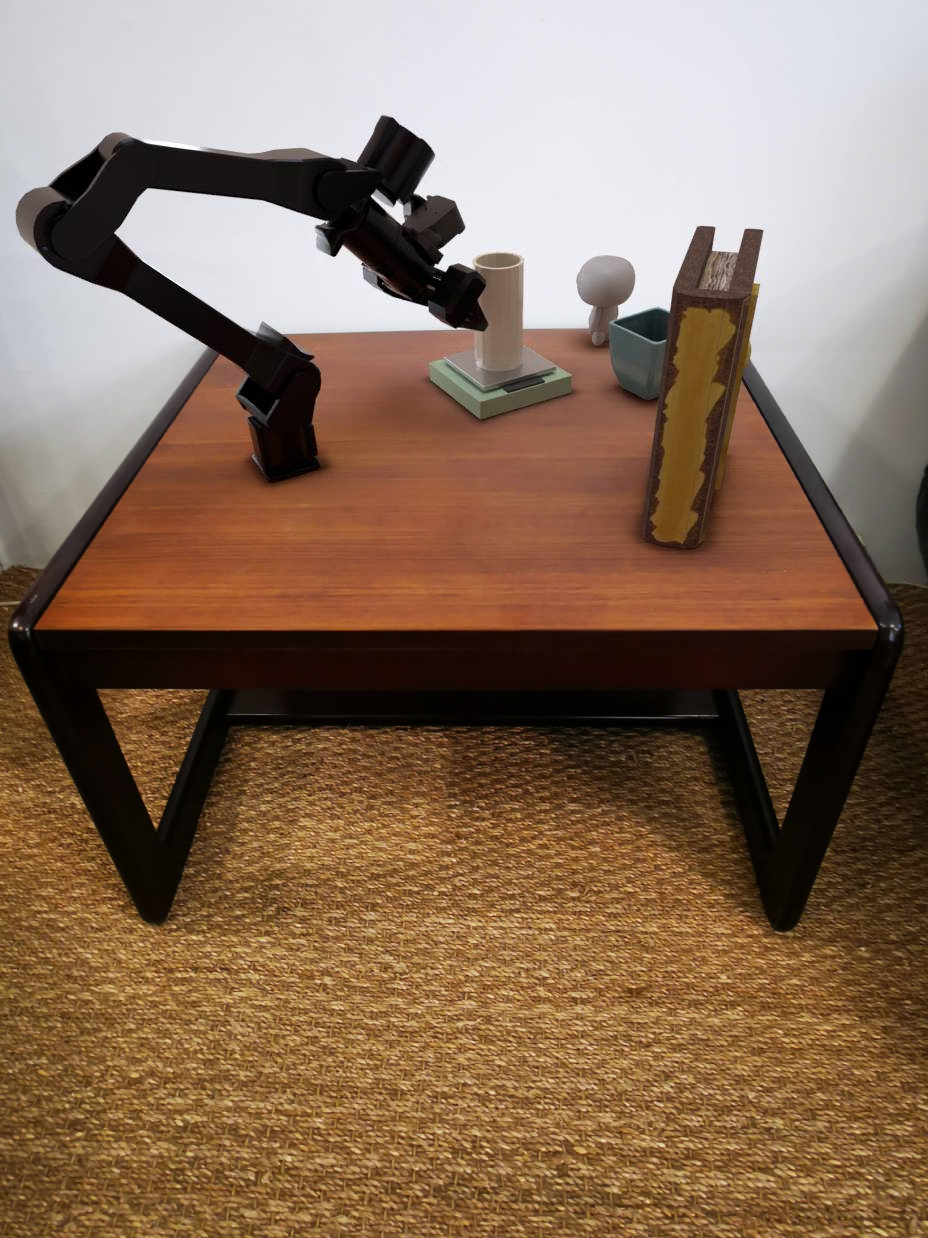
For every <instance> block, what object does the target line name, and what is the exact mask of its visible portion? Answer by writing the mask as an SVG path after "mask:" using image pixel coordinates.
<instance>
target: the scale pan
mask: <svg viewBox="0 0 928 1238" xmlns="http://www.w3.org/2000/svg"><path fill="white" fill-rule="evenodd" d="M525 346H526V345H525ZM525 346H523V362H522V364H521V365H520V366H519V367H517V368H515V369H512V370H508V371H488V370H484V369H481V368H480V367H478V366H477V365H476V363H475V348H471V349H467V350H463V351H460V352H455V353H452V354H447V355H445V356H443V359H444V361H445V362H446V363H447V364H449V365H450V366H451V367H453V368H454V369H455V370H457V371H458V372H459V373H461V374H462V375H463V376H465V377H466V378H467V379H469V380H470V381H471V382H473V383H474V384H475V385H477V386H478V387H479V388H481V389H482V390H483V391H487V390H490V389H494V388H497V387H501V386H504V385H508V384H511V383H515V382H518V381H522V380H525V379H529V378H532V377H536V376H539V375H543V374H546V373H550V372H553V371H556V366H557V365H556V364H555V365H556V366H555V365H553V364H554V363H553V362H552V363H553V364H552V363H550V362H551V361H550V360H549V361H550V362H549V361H547V360H548V359H547V360H545V359H546V358H545V357H544V358H545V359H544V358H542V357H543V356H542V355H541V356H542V357H541V356H539V355H540V354H539V353H537V352H536V353H537V354H536V353H534V352H535V351H534V350H533V351H534V352H533V351H531V350H532V349H531V348H530V349H531V350H530V349H528V348H529V347H528V346H526V347H525ZM527 347H528V348H527ZM538 354H539V355H538Z"/></svg>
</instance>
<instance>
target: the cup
mask: <svg viewBox="0 0 928 1238" xmlns="http://www.w3.org/2000/svg"><path fill="white" fill-rule="evenodd" d="M471 269H474V270H476V271H477V272H478V273H479V274H480V275H481V276H482V277H484V278H485V279H486V288H485V289H484V291H483V292H482V294H481V296H480V297H479V299H478V302H479V305H480V307H481V309H482V311H483V313H484V315H485V317H486V320H487V322H488V327H487V328H486V330H485V331H484V332H481V331H476V330H473V340H474V341H473V343H474V349H475V363H476V365H477V366H478V367H480V368H481V369H484V370H488V371H508V370H512V369H515V368H517V367H519V366H520V365H521V364H522V362H523V345H524V311H525V310H524V306H525V305H524V304H525V303H524V302H525V258H524V257H523V256H522V255H520V254H517V253H516V252H515V253H514V252H509V251H494V252H493V251H492V252H485V253H482V254H479V255H477V256H475V257H473V259H472V266H471Z"/></svg>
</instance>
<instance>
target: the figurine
mask: <svg viewBox="0 0 928 1238" xmlns="http://www.w3.org/2000/svg"><path fill="white" fill-rule="evenodd" d="M575 283H576V290H577V294H578V296H579V298H580V300H581V301H582V302H584V303H585V304H586V305H589V306H592V309H591V310H590V314H589V315H588V335H589V336H591V341H592V344H593V345H594V346H596V347H600V346H602V345H603V343H604V342H608V341H609V322H611V321H613V320H616V319H618V318H619V306H620V305H622V304H624V303H625V302H626V301H628V300H629V299H630V297H631V296H632V294H633V292H634V289H635V284H636V271H635V268H634V266H633V264H632V263H631V262H630V261H629V260H628V259H626V258H624V257H621V256H617V255H608V254H607V255H606V254H605V255H598V256H593V257H591V258H590V259H587V260H586V261H585V262H584V264H583V265H582V266H581V268H580V269H579V271H578V273H577V275H576V279H575Z"/></svg>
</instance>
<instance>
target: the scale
mask: <svg viewBox="0 0 928 1238" xmlns="http://www.w3.org/2000/svg"><path fill="white" fill-rule="evenodd" d="M523 346H525V347H527V348H528V349H530V350H531V351H533V352H534V353H536V354H538V355H539V356H541V357H542V358H544V359H545V360H547V361H549V362H550V363H552V364H553V365H555V366H556V371H553V372H550V373H546V374H543V375H539V376H536V377H532V378H529V379H525V380H522V381H518V382H515V383H511V384H508V385H504V386H501V387H497V388H494V389H490V390H487V391H483V390H482V389H481V388H479V387H478V386H477V385H475V384H474V383H473V382H471V381H470V380H469V379H467V378H466V377H465V376H463V375H462V374H461V373H459V372H458V371H457V370H455V369H454V368H453V367H451V366H450V365H449V364H447V363H446V362H445V361H444V358H441V359H438V360H433V361H430V362H429V363H428V367H429V380H430V381H431V382H432V383H434V384H435V385H436V386H437V387H439V388H440V389H441V390H443V391H444V392H445V393H446V394H448V395H449V396H450V397H451V398H452V399H454V400H455V401H456V402H457V403H459V404H460V405H461V406H463V408H465V409H466V410H467V411H469V412H470V413H471V414H472V415H474V416H475V417H476V418H477V419H479V420H480V421H482V420H484V419H487V418H491V417H494V416H498V415H501V414H505V413H507V412H511V411H514V410H518V409H521V408H525V407H528V406H531V405H534V404H539V403H542V402H545V401H549V400H552V399H554V398H558V397H562V396H565V395H568V394H571V393H572V384H573V383H572V382H573V381H572V379H573V375H572V374H571V373H569V372H568V371H566V370H564V369H563V368H561V367H560V366H558V365H556V364H555V363H553V362H551V361H550V360H549V359H548V358H545V357H544V356H543V355H540V354H539V353H538V352H536V351H534V350H533V349H532V348H530V347H528V346H526V345H525V344H523Z"/></svg>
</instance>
